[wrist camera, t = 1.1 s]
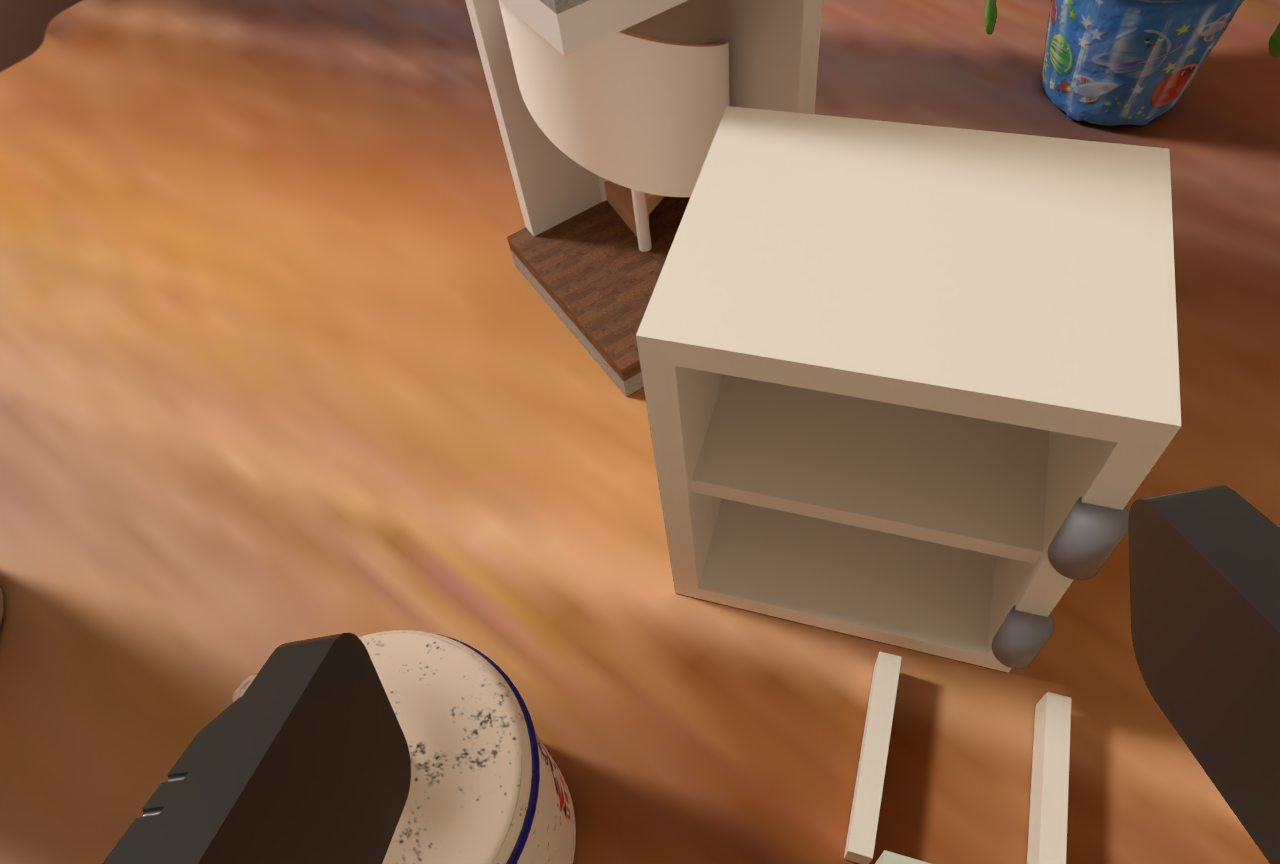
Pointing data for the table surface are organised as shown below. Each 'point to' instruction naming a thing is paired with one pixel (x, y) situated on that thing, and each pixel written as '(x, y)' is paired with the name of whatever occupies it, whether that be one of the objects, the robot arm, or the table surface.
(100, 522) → the table surface
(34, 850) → the table surface
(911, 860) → the door
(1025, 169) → the cabinet
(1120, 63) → the snack cup
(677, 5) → the display case
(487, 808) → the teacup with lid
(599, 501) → the table surface
